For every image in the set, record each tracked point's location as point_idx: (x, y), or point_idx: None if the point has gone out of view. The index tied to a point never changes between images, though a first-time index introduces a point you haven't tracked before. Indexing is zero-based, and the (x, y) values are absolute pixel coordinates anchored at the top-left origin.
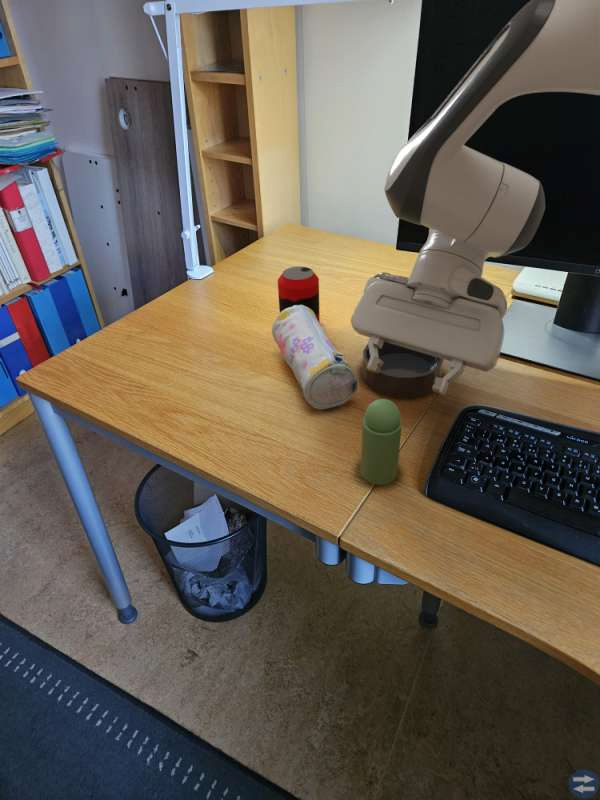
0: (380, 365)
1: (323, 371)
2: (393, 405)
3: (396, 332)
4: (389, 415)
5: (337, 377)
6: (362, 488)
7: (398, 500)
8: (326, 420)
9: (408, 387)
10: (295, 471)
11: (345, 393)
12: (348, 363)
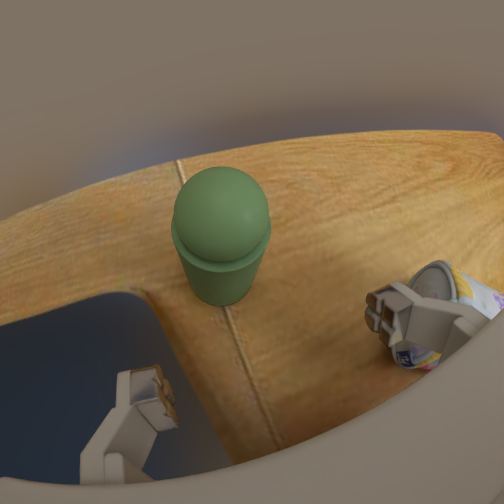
0: (382, 324)
1: (449, 279)
2: (198, 211)
3: (462, 382)
4: (184, 187)
5: None
6: None
7: (156, 253)
8: None
9: None
10: (305, 187)
11: (402, 341)
12: None
